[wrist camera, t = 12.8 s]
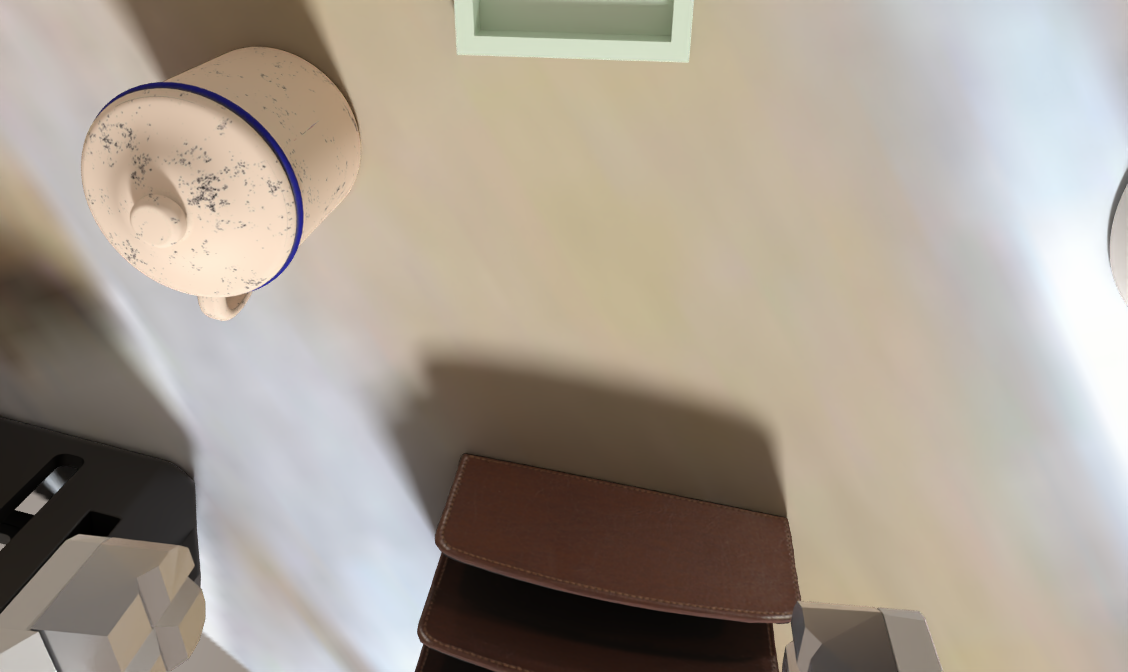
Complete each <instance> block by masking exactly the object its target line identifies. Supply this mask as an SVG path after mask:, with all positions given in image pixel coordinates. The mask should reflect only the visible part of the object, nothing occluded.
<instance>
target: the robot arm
mask: <svg viewBox="0 0 1128 672" xmlns="http://www.w3.org/2000/svg"><path fill="white" fill-rule="evenodd" d="M1110 263H1111V269H1112V274H1113V278H1114V281H1115V284H1116V287H1117V289H1118V291H1119V293H1120V295H1121V297H1122V299H1123V300H1124V302H1125V304H1126V305H1127V306H1128V184H1127V186H1126V188H1125V190H1124V192H1123V194H1122V197H1121V199H1120V202H1119V204H1118V207H1117V210H1116V213H1115V216H1114V220H1113V225H1112V230H1111V237H1110ZM194 566H195V565H194V562H193V559H192V556H191V554H190V551H189V548H187V547H183V546H180V545H172V544H164V543H155V542H147V541H139V540H130V539H122V538H109V537H100V536H91V535H82V534H78V535H76V536H74V537H72V538H70V539H68V540H66V541H65V542H64V543H63V544H62V545H61V546H60V548H59V549H58V550H57V551H56V552H55V553H54V554H53V555H52V557H51V558H50V559H49V560H48V561H47V562H46V563H45V564H44V566H43V567H42V568H41V569H40V570H39V571H38V572H37V573H36V575H35V576H34V577H33V578H32V579H31V580H30V581H29V582H28V584H27V585H26V586H25V587H24V588H23V589H22V590H21V591H20V593H19V594H18V595H17V596H16V597H15V598H14V599H13V600H12V602H11V603H10V604H9V605H8V606H7V607H6V608H5V609H4V611H3V612H2V613H1V614H0V672H170V671H172V670H173V669H175V668H176V667H178V666H179V665H181V664H182V663H184V662H185V661H187V660H188V659H189V658H190V656H191V654H192V653H193V651H194V649H195V647H196V646H197V644H198V642H199V640H200V636H201V633H202V629H203V626H204V622H205V599H204V596H203V592H202V589H201V588H200V587H199V586H198V585H196V584H195V583H194V582H193V581H192V580H191V579H190V578H189V577H188V575H189V574H190V572H191V571H192V569H193V568H194ZM791 627H792V634H793V641H791V642H790V643H789V644H787V645H786V647H785V653H784V659H783V665H782V672H943V670H942V667H941V664H940V661H939V658H938V655H937V652H936V649H935V646H934V643H933V640H932V637H931V634H930V631H929V628H928V625H927V622H926V619H925V617H924V616H923V615H922V614H921V613H920V611H912V610H901V609H889V608H877V609H876V608H875V607H868V606H855V605H843V604H830V603H818V602H805V601H797V602H796V604H795V606H794V609H793V613H792V618H791Z"/></svg>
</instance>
